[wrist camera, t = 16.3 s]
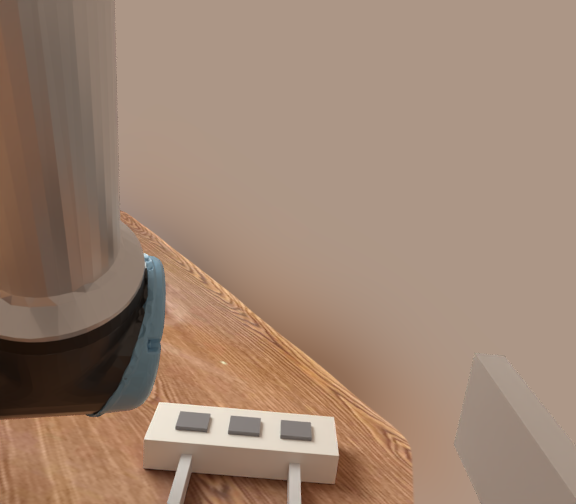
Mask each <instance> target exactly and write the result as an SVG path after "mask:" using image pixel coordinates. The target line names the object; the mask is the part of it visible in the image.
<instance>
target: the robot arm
mask: <svg viewBox="0 0 576 504" xmlns="http://www.w3.org/2000/svg"><path fill="white" fill-rule="evenodd" d="M165 295H166V290H165V273H164V268H163V265H162V263H161V261H160V260H159V259H158V258H156V257H153V256H148V255H147V254H144V253H143V250H142V247H141V244H140V242H139V240H138V239H137V237H136V235H135V234H134V233H133V232H132V231H131V229H130V228H129V227H128V226H126V225H125V224H124V223H123V222H122V221H120V196H119V155H118V116H117V74H116V33H115V0H0V420H4V419H20V418H37V417H53V416H69V415H87V416H89V417H98V416H101V415H103V414H104V413H111V412H119V411H127V410H132V409H135V408H137V407H139V406H140V405H142V404H143V403H144V402H145V401H146V399H147V398H148V397H149V395H150V393H151V391H152V388H153V385H154V382H155V379H156V374H157V370H158V365H159V359H160V352H161V345H160V341H161V339H162V333H163V328H164V318H165ZM454 446H455V448H456V450H457V452H458V455H459V457H460V459H461V461H462V463H463V466H464V468H465V470H466V472H467V474H468V476H469V479H470V481H471V483H472V485H473V487H474V489H475V491H476V494H477V496H478V498H479V500H480V503H481V504H576V445H575V444H574V442H573V441H572V440H571V439H570V437H569V436H568V435H567V434H566V433H565V431H564V430H563V429H562V427H561V426H560V425H559V423H558V422H557V421H556V420H555V419H554V417H553V416H552V415H551V413H550V412H549V411H548V410H547V408H546V407H545V406H544V405H543V403H542V402H541V401H540V400H539V399H538V397H537V396H536V395H535V393H534V392H533V391H532V390H531V388H530V387H529V386H528V385H527V383H526V382H525V381H524V380H523V378H522V377H521V376H520V375H519V373H518V372H517V371H516V370H515V368H514V367H513V366H512V365H511V363H510V362H509V361H508V360H507V358H506V357H505V356H502V355H491V354H480V353H475V354H474V358H473V362H472V367H471V371H470V376H469V380H468V385H467V389H466V393H465V398H464V402H463V406H462V411H461V415H460V420H459V424H458V428H457V433H456V437H455V441H454Z"/></svg>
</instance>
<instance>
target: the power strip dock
mask: <svg viewBox="0 0 576 504" xmlns="http://www.w3.org/2000/svg"><path fill="white" fill-rule="evenodd" d="M338 460H339V452H338V444H337V437H336V429H335V422H334V417H326V416H314V415H302V414H291V413H279V412H268V411H256V410H245V409H233V408H222V407H210V406H198V405H187V404H175V403H164V402H159V404H158V407H157V409H156V411H155V414H154V416H153V419H152V421H151V423H150V426H149V428H148V431H147V433H146V436H145V438H144V460H143V468H145V469H157V470H169V471H176V474H175V478H174V481H173V485H172V488H171V491H170V495H169V498H168V502H167V504H184V500H185V496H186V492H187V488H188V484H189V480H190V476H191V473H192V472H193V473H205V474H218V475H230V476H242V477H254V478H266V479H278V480H287V504H301V481H302V482H314V483H326V484H335V479H336V473H337V466H338Z"/></svg>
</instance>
